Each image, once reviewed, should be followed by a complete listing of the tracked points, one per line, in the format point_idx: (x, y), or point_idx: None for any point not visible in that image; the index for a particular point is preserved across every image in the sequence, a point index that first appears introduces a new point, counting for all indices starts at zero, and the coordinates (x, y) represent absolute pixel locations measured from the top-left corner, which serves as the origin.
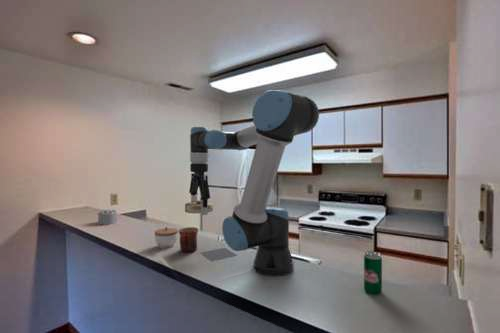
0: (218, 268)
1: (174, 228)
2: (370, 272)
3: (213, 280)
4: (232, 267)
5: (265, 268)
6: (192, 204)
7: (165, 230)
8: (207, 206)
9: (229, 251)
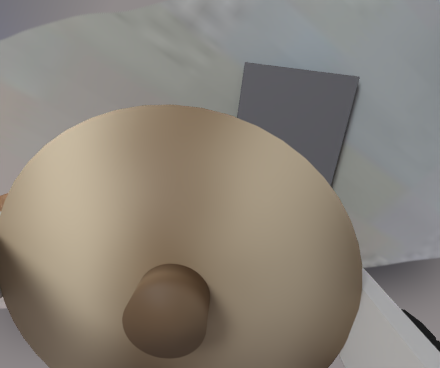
0: (375, 189)
1: (2, 200)
2: None
3: (428, 243)
4: (407, 151)
5: None
6: (171, 366)
7: None
8: (382, 291)
9: (298, 75)
